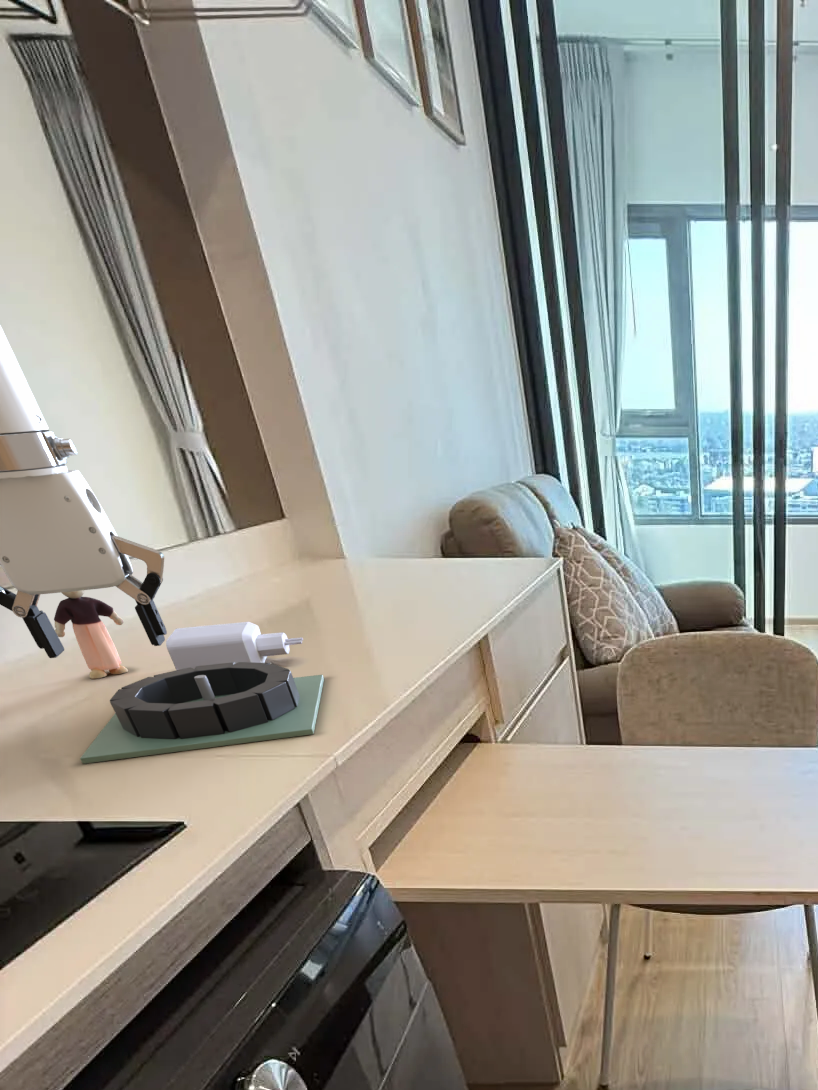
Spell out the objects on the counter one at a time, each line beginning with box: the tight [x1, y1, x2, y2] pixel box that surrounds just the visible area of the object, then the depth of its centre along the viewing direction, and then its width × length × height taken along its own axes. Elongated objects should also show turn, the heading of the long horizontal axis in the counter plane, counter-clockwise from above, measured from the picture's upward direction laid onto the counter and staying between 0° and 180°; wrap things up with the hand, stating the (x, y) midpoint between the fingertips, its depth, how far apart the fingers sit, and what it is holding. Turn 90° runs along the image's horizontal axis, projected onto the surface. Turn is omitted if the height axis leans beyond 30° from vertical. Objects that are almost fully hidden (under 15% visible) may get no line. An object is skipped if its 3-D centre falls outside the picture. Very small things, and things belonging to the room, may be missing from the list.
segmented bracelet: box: [109, 662, 300, 739], centre depth 96 cm, size 18×18×3 cm
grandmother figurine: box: [53, 590, 129, 680], centre depth 108 cm, size 8×4×13 cm, turn 148°
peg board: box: [79, 674, 325, 765], centre depth 96 cm, size 22×22×4 cm
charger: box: [165, 621, 304, 671], centre depth 112 cm, size 5×9×15 cm
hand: (109, 648), depth 90 cm, fingers open, 9 cm apart
